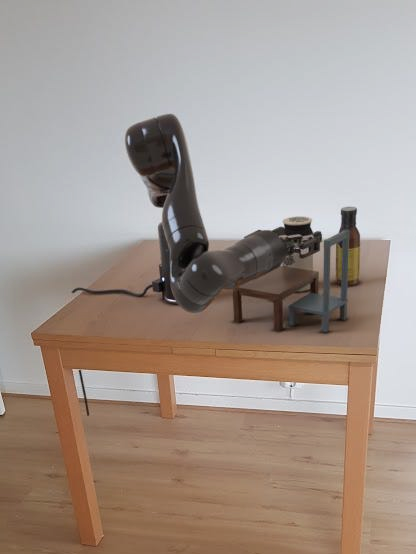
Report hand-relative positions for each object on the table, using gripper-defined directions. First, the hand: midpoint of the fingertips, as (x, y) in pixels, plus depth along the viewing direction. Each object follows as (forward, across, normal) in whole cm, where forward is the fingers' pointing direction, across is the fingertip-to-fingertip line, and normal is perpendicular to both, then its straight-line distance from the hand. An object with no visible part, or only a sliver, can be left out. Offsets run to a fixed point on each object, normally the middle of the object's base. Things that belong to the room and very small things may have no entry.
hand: (300, 233), depth 136 cm
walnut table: (+15, +16, +25) cm, 33 cm away
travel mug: (+34, +21, +26) cm, 48 cm away
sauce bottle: (+43, +11, +26) cm, 51 cm away
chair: (+15, +4, +25) cm, 30 cm away
